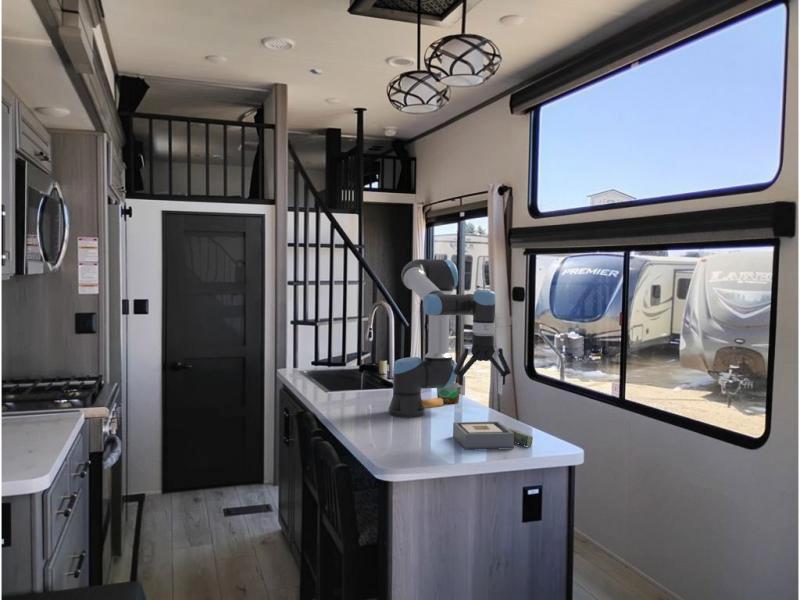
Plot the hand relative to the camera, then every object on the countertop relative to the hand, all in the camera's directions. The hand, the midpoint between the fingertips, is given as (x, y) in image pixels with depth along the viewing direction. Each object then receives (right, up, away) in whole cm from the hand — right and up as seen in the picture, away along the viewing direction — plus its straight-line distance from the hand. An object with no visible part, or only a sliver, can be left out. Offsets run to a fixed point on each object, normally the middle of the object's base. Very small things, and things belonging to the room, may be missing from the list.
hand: (481, 394), depth 225 cm
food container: (-8, -14, +63) cm, 65 cm away
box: (0, -17, -2) cm, 17 cm away
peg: (-21, -12, +52) cm, 57 cm away
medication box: (+13, -18, 0) cm, 22 cm away
